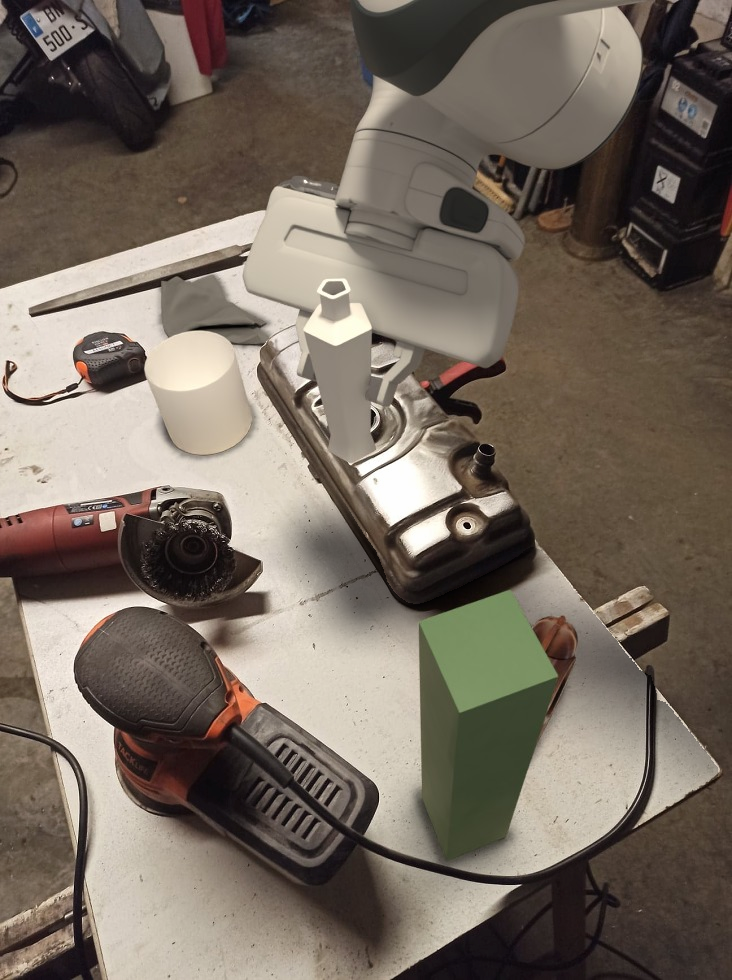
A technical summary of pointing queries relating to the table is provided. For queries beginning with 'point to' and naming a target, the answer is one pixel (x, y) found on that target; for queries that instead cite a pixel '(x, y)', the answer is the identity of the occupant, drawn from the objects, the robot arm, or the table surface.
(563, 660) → the brown ribbed piece
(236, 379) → the cup
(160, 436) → the table surface
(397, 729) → the table surface
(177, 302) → the cloth
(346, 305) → the white faceted bottle
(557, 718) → the table surface
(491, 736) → the block
